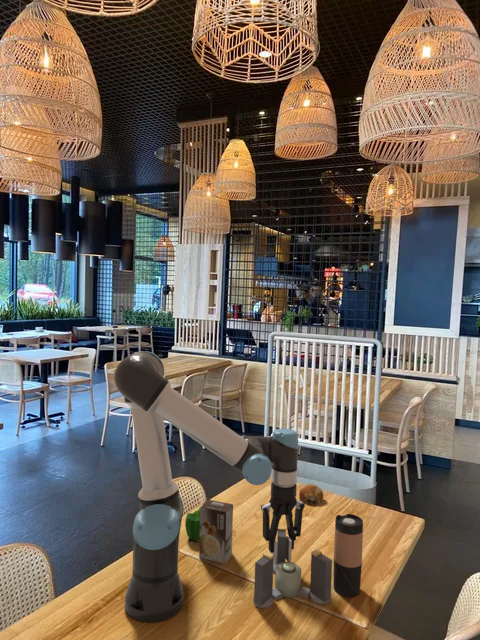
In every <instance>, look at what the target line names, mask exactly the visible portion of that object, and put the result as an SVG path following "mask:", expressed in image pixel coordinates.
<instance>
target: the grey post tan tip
mask: <svg viewBox="0 0 480 640" xmlns="http://www.w3.org/2000/svg"><path fill="white" fill-rule="evenodd" d="M310 555H311V559H310V560H311V562H310V586H309V589H310V594H309V596H310V600H311V602H313V603H315V605H316V604H317V605H321V606H322V605H324V606H325V605H328V604H329V603H330V602H331V599H332V597H331V596H332V575H333V574H332V573H333V572H332V571H333V559H331V558H329V557H328V556H326V555H325V554H323V551H322V550H320V549H318V548H316V549H315V550H312V551H311V554H310Z"/></svg>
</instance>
